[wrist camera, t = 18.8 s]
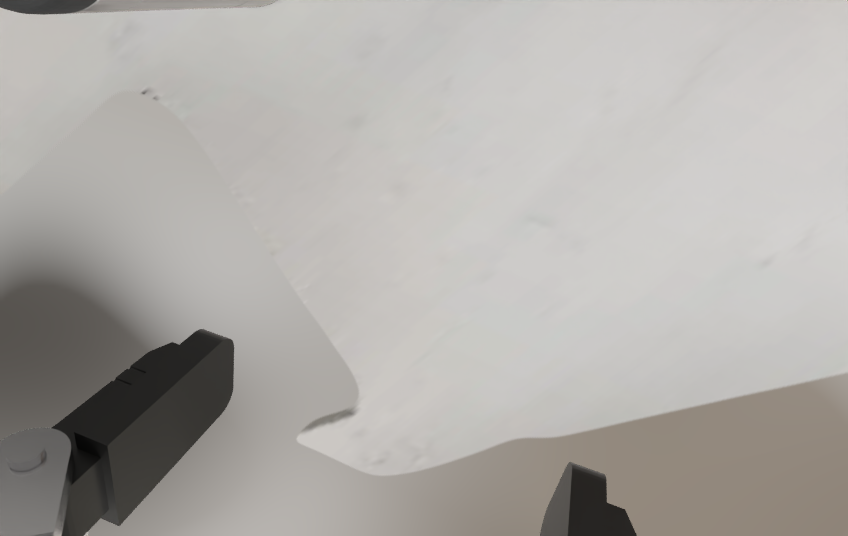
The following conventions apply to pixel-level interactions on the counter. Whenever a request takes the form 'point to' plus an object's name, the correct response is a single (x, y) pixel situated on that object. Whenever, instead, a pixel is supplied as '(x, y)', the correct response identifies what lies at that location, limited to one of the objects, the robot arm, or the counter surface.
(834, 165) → the counter surface
